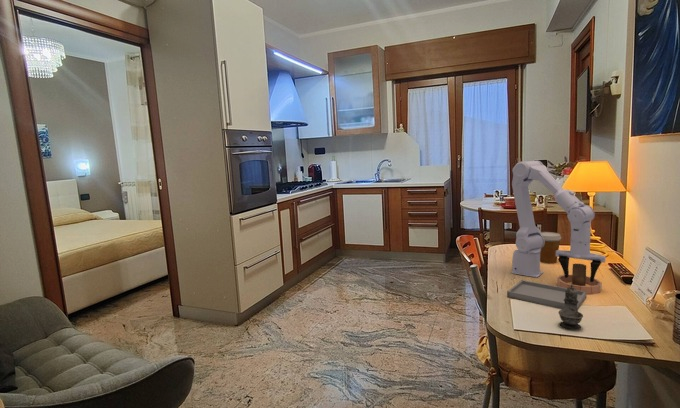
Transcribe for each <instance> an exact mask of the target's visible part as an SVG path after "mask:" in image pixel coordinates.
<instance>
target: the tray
mask: <svg viewBox="0 0 680 408" xmlns="http://www.w3.org/2000/svg"><path fill="white" fill-rule="evenodd" d="M565 290H566V288H563V287H558V286H557V285H551V284H546V283H540V282H534V281H530V280H524V279H522V280H521V279H520V281H519V282H517V283H516V284H514V285H513V286H512V287H511V288H510V289H508V290H507V292H506V296H507V298H511V299H515V300H519V301H525V302H528V303H532V304H538V305H541V306H546V307H551V308H556V309H560V310H564V307H565V301H564V299H565ZM586 299H587V294H586V292H585V291H579V290H577V300H578V301H579V303H577V310H578V311H579V308H580V307H581V305H582V304H583V303H584V301H585V300H586Z"/></svg>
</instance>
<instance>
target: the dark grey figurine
mask: <svg viewBox="0 0 680 408" xmlns="http://www.w3.org/2000/svg"><path fill="white" fill-rule="evenodd" d="M564 301H565V307H564V309H560V310H558V315H559V318H560V320H561V322H559V326H560V327H561V328H562V329H564V328H565V330H567V331H574V332H575V331H580V330H581V329H582V326H581V325H580V323H581V321H582V320H583V319H582V318H584V314H583V313H581V312H580V311H579V309H578V310H577V303H579V301H578V300H577V290H576V289H575V288H573V286H572V283H571V287H568V288H566V290H565V299H564Z"/></svg>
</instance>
